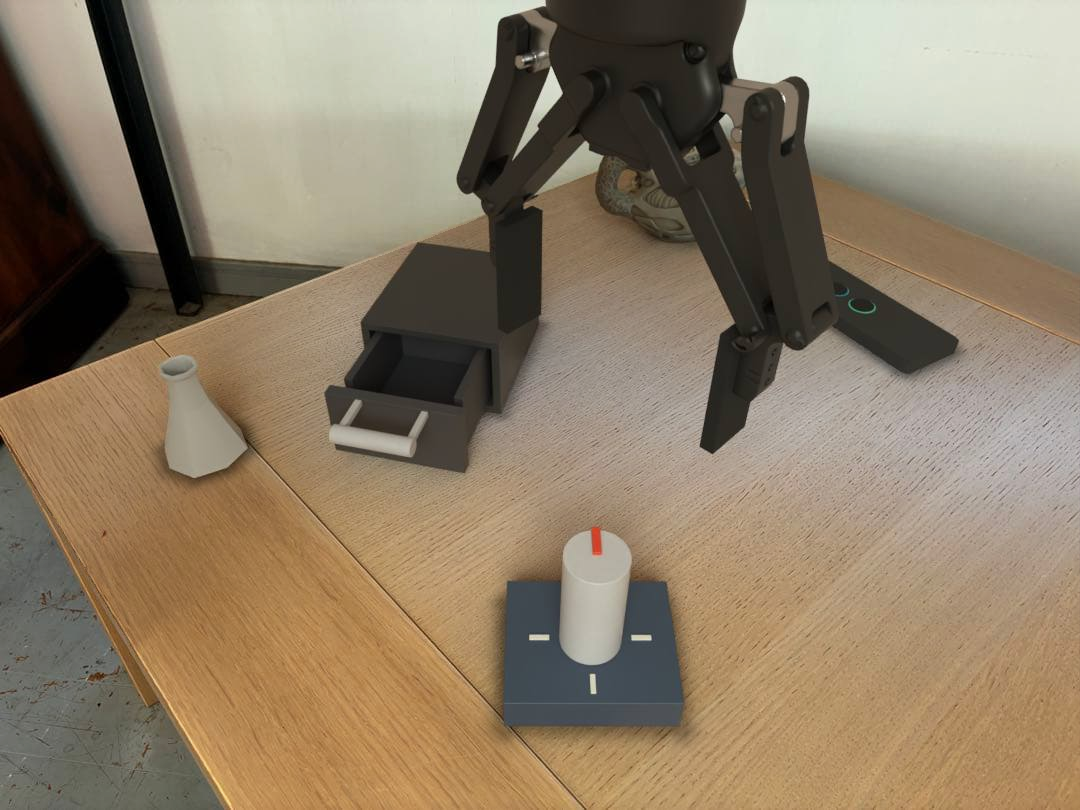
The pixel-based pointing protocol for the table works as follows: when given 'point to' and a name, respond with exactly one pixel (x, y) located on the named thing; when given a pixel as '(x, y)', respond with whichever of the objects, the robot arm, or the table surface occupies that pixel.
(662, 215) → the teapot
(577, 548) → the timer knob
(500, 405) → the drawer cabinet
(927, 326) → the smart home device
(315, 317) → the table surface
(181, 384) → the flask
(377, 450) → the open drawer with handle
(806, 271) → the robot arm
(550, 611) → the timer panel
